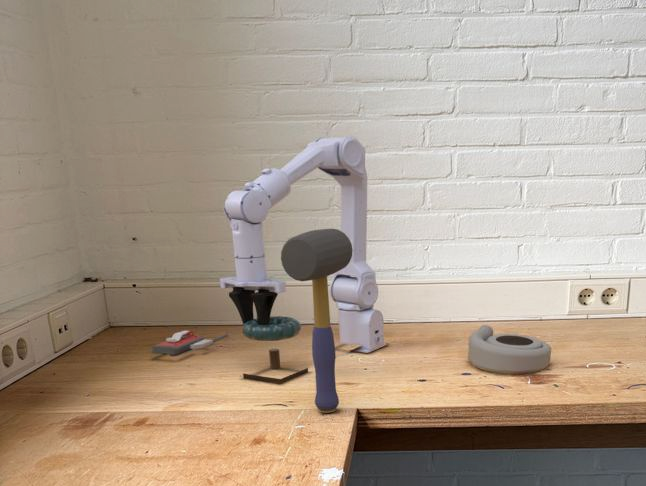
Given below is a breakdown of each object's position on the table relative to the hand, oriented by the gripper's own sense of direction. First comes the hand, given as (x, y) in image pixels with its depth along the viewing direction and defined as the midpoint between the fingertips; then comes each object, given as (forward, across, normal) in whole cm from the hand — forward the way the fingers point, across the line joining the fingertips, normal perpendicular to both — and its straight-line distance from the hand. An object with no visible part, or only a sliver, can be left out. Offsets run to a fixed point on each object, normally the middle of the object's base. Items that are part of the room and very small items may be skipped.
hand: (256, 327), depth 156 cm
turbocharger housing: (+10, +42, +26) cm, 50 cm away
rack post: (+9, +4, 0) cm, 10 cm away
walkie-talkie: (+10, -26, +8) cm, 29 cm away
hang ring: (0, +4, 0) cm, 4 cm away
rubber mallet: (+10, +26, -14) cm, 31 cm away
